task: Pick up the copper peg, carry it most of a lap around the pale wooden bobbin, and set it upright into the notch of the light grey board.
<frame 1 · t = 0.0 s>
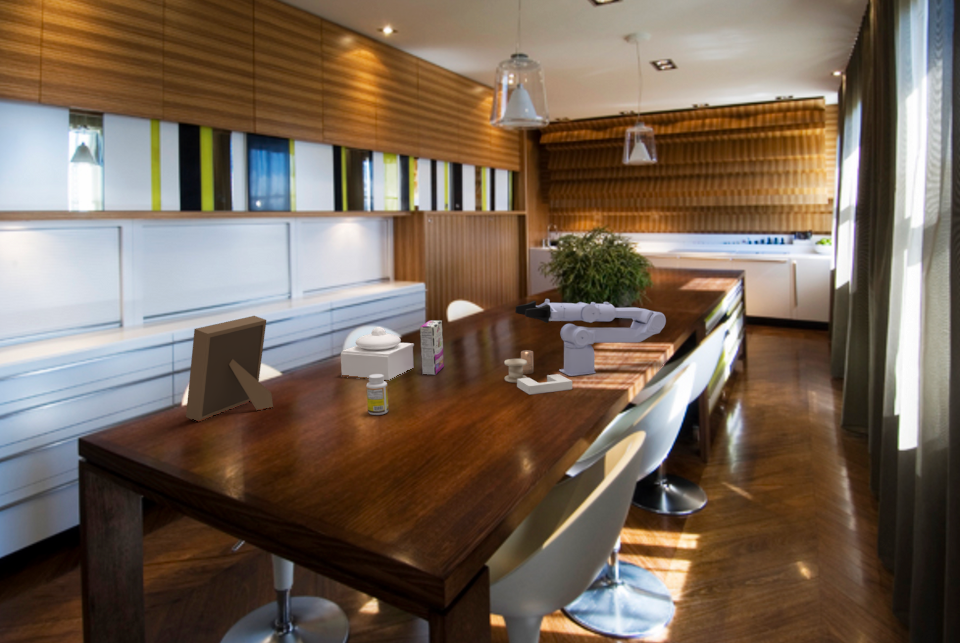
hand: (520, 311, 202), 22 cm above the table, tool horizontal, fingers open, 7 cm apart
butter dish: (379, 373, 219), on the table
supplement bottle: (378, 413, 175), on the table
bobbin: (515, 379, 205), on the table
notched board: (544, 388, 195), on the table
candy bar box: (432, 371, 219), on the table
photo frame: (238, 412, 179), on the table
copper peg: (527, 372, 214), on the table
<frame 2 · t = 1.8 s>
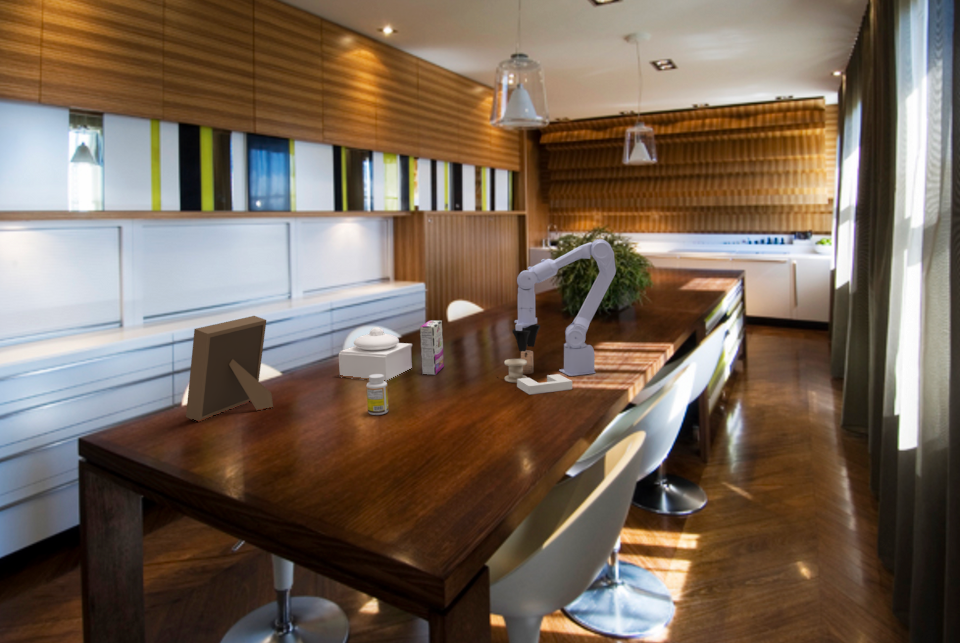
hand: (526, 348, 213), 8 cm above the table, tool pointing down, fingers open, 7 cm apart
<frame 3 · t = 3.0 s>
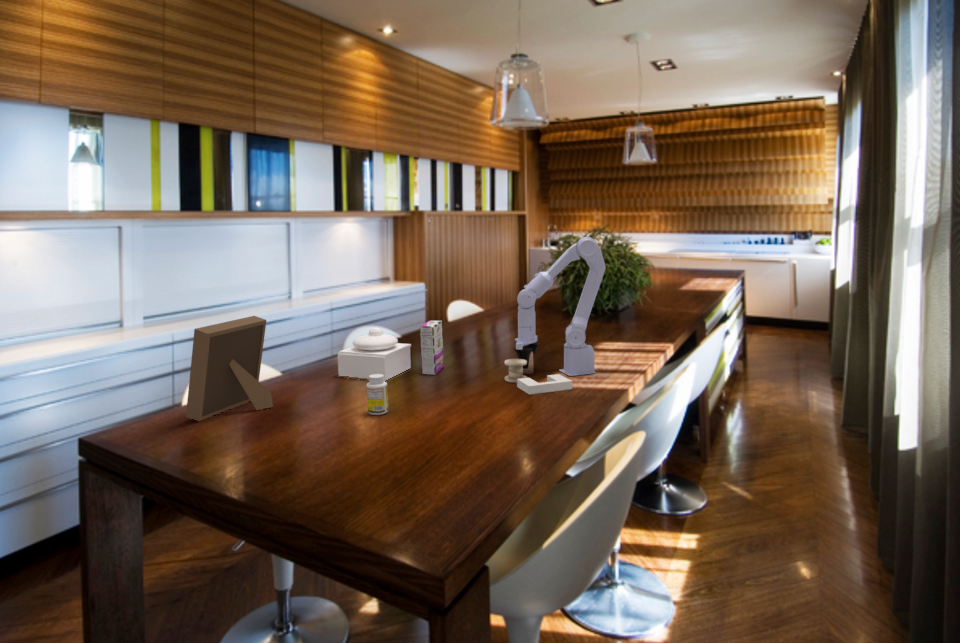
hand: (527, 366, 214), 2 cm above the table, tool pointing down, fingers closed on copper peg, 4 cm apart
copper peg: (527, 372, 214), on the table, touching gripper
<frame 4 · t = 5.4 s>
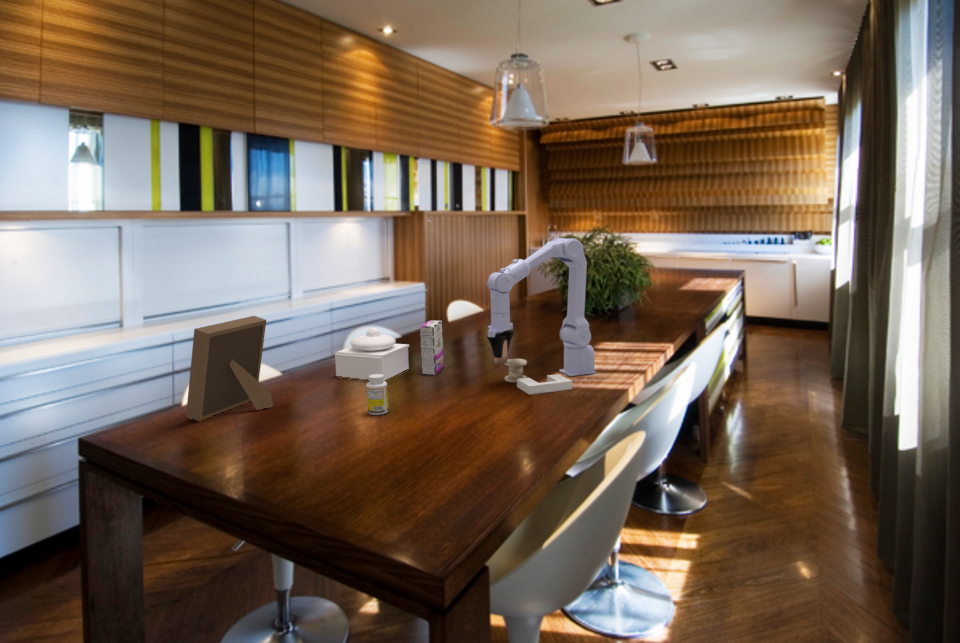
hand: (501, 356, 199), 9 cm above the table, tool pointing down, fingers closed on copper peg, 4 cm apart
copper peg: (501, 362, 199), point 7 cm above the table, touching gripper
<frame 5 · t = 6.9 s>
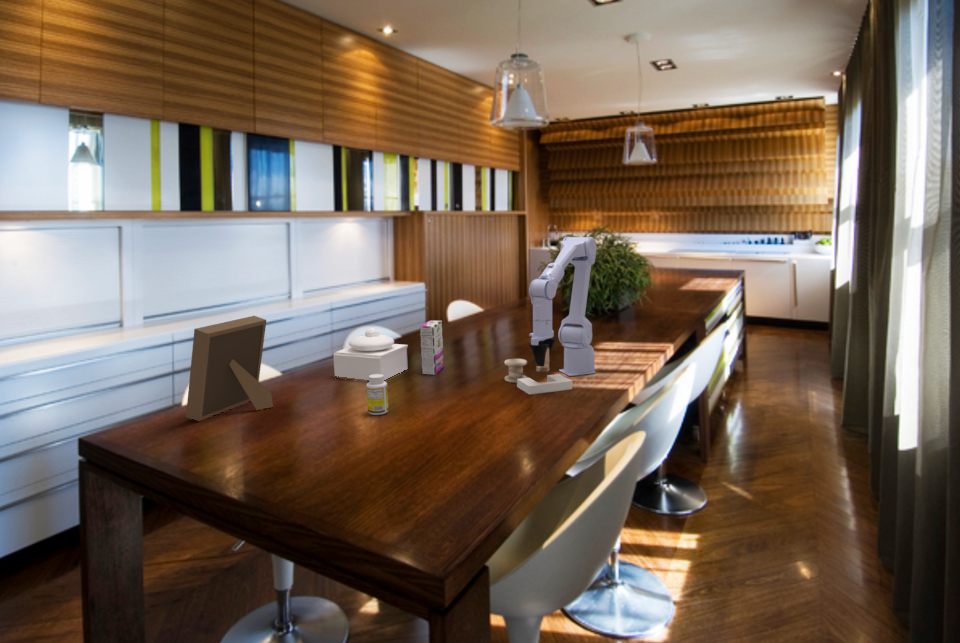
hand: (542, 364, 195), 7 cm above the table, tool pointing down, fingers closed on copper peg, 4 cm apart
copper peg: (542, 370, 195), point 5 cm above the table, touching gripper
when the fingers open (4 cm above the table, at t = 7.8 s): copper peg drops 2 cm, on the table.
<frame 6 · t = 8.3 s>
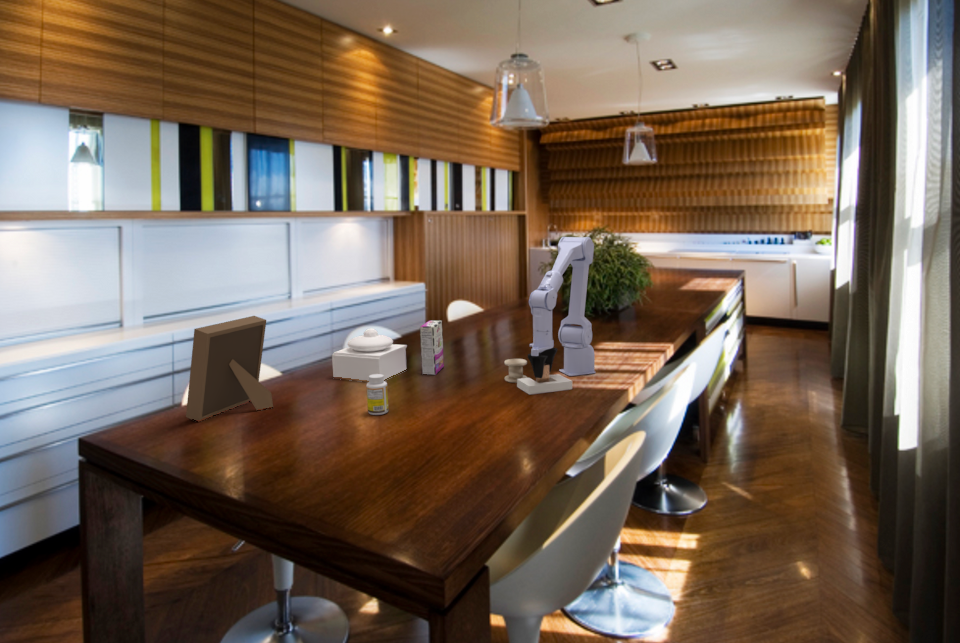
hand: (542, 374, 195), 4 cm above the table, tool pointing down, fingers open, 7 cm apart
copper peg: (542, 387, 196), on the table
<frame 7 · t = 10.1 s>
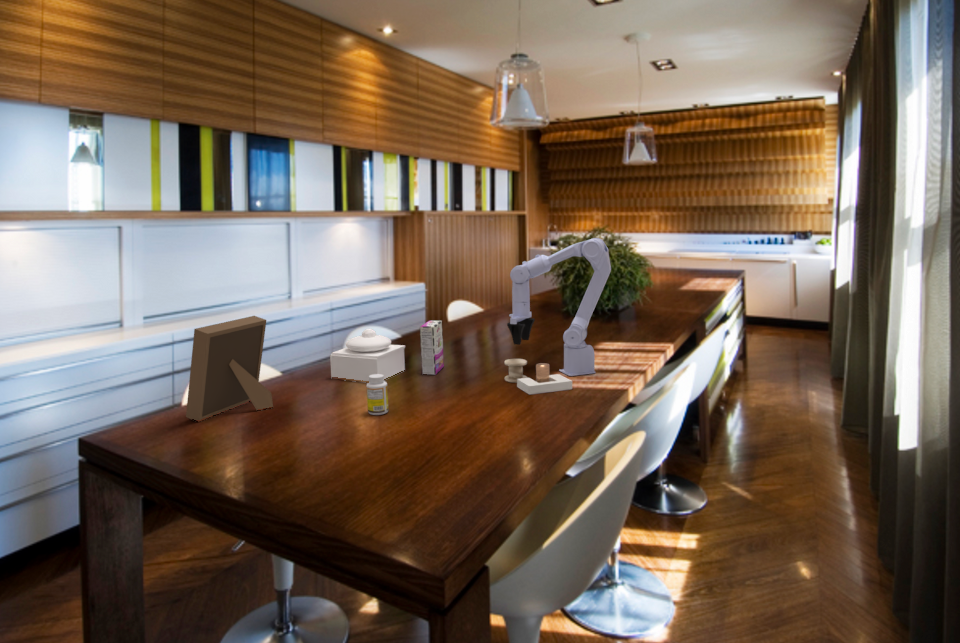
hand: (521, 342, 216), 9 cm above the table, tool pointing down, fingers open, 7 cm apart
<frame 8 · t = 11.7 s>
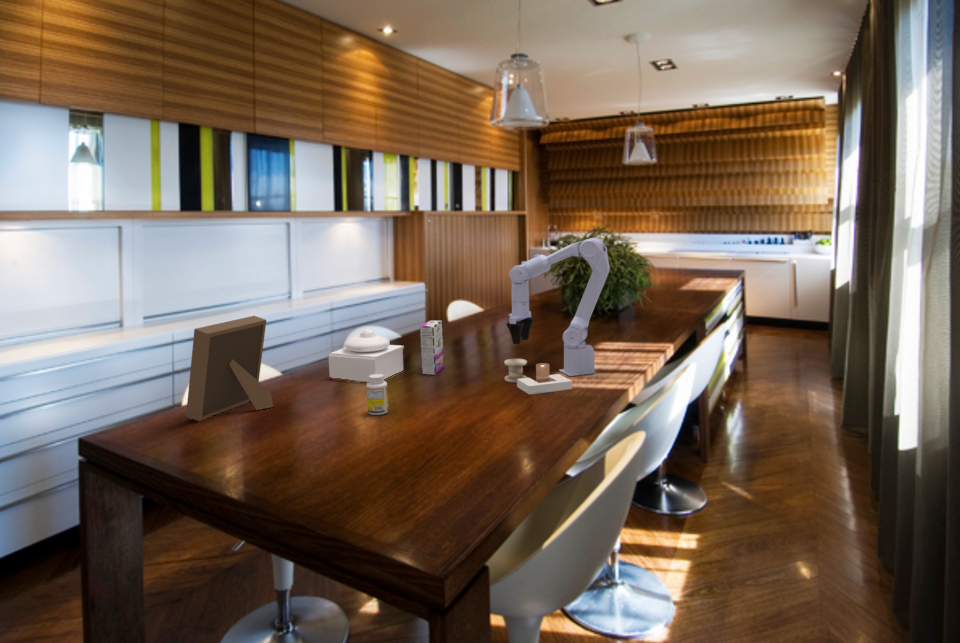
hand: (520, 341, 217), 9 cm above the table, tool pointing down, fingers open, 7 cm apart
at the end: copper peg 0.1 cm from the target spot on the notched board, point 0.0 cm above the notched board's base; copper peg tilted 0°; the gripper is holding nothing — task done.
